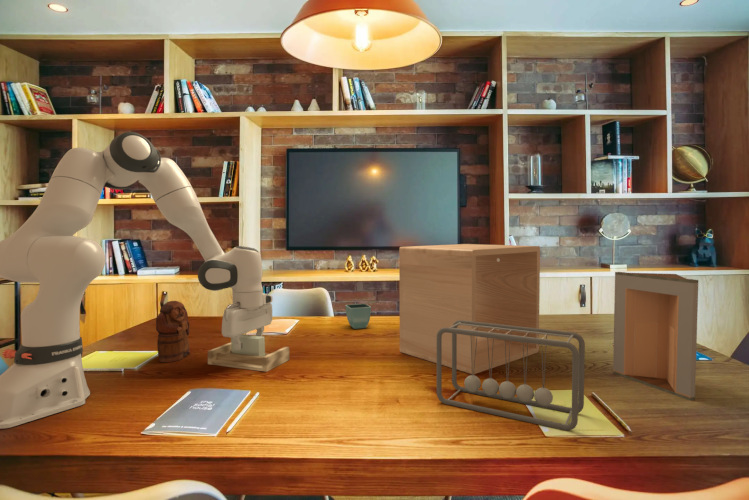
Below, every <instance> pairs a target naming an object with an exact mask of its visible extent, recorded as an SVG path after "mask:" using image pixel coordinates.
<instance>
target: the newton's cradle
mask: <svg viewBox="0 0 749 500" xmlns="http://www.w3.org/2000/svg"><path fill="white" fill-rule="evenodd" d="M458 325H466V326H474V327H476V328H477V327H483V328H492V330H493V329H500V330H509V332H510V335H508V334H507V333H506V334H499V333H494V332H493V333H491V332H490V331H489V332H483V331H478V328H477V331H475V330H466V329H458V328H457V326H458ZM474 329H475V328H474ZM511 331H518V332H526V333H528V336H529V333H535V334H539V335H544V336H543V337H542V338H541V337H539V338H533V337H524V336H525V335H524V336H516V335H511ZM445 332H446V333H452V368H451V383H452V386H453V387H454V389H456V390H457V391H455V392H454V393H453V394H452V395H451V396H450V397H449V398H445V397H444V396H443V393H442V385H443V384H442V381H443V380H442V378H443V377H442V375H443V374H442V370H443V369H442V366H443V365H442V334H443V333H445ZM457 334H462V335H470V336H478V337H486V338H487V340H488V338H493V344H494V339H501V340H509V341H510V343H511V341H517V342H525V343H527V355H528V343H533V344H539V345H541V346H545V348H544V350H545V351H544V352H545V354H544V356H543V353H544V352H543V351H541V367H542V369H541V370H542V372H541V373H542V375H541V377H542V378H543V383H542V387H539V388H537V389H536V390H535V391H534V389H533V388H532V386H530V385H528V384H527V377H526V374H527V372H528V371H527V370H528V367H527V366H528V358H525V357H524V343H523V358H522V359H523V363H525V359H526V363H525V367H523V380H524V381H523V382H524V383H523V384H520V385H519V386H518V387H516V386H515V384H514V383H513V382H511V381H509V380H506V381H502V382H501V383H500V384H499V383H498V382H497V380H495V379H494V378H492V376H493V375H492V373H493V368H492V364H491V369H490V363H489V369H488V371H489V373H488V375H489V376H490V377H488V378H486V379H484V380H483V381H482V383H481V380H480V378H479V377H478V376H477V375H475V374H474V370H472V374H469V375H468V376H467V377H466V378H465V379H464V381H463V382H464V383H463V384H464V386H460V385H459V384H458V383H457V382H458V381H457V371H458V370H457ZM548 336H555V337H562V338H568V339H567V341H565V340H557V339H547V338H548ZM572 339H576V340H577V342H578V348H577V347H576V346H575V345H574V344H573V343H570V342H571V341H572ZM585 345H586V343H585V340H584V338H583V336H582V335H581V334H579V333H577V332H572V331H564V330H555V329H545V328H539V329H538V328H529V327H520V326H510V325H501V324H492V323H483V322H474V321H465V320H458V321H456V322H455V323H454V324H453V326H451V327H449V328H441V329H440V330H439V331H438V333H437V363H436V397H437V398H438V400H439V401H440V402H441V403H442V404H445V405H448V406H452V407H457V408H462V409H465V410H470V411H475V412H479V413H480V412H481V413H485V414H489V415H493V416H498V417H504V418H508V419H512V420H516V421H519V422H520V421H521V422H525V423H530V424H535V425H539V426H544V427H547V428H548V427H549V428H553V429H556V430H557V429H558V430H563V431H572V430H574V429H575V428H576V427H577V426H578V422H579V413H580V412H582V410H584V406H585V360H586V359H585V355H586V353H585V352H586V350H585V349H586V346H585ZM476 346H477V338H476ZM547 346H549V347H558V348H565V349H568V350H570V351H571V354H572V357H571V359H572V362H571V365H572V368H571V369H572V370H571V371H572V373H571V377H572V378H571V407H568V406H563V405H559V404H553V403H552V402H553V401H554V397H553V396H554V395H553V393H552V391H551V390H550V389H549V388H546V387H545V381H546V366H544V363H546V361H547V359H546V356H547ZM475 356H476V349H475ZM505 357H506V342H505ZM488 358H489V345H488ZM492 360H493V348H492ZM509 360H510V347H509ZM543 360H544V361H543ZM471 362H472V341H471ZM507 364H508V363H505V371H506V372H505V373H506V379H509V377H510V375H509V372H510V364H508V365H507ZM507 366H508V367H507ZM474 367H475V359H474ZM480 388H482V390H481V389H480ZM459 392H462V393H467V394H472V395H479V396H482V397H488V398H493V399H498V400H501V401H502V400H504V401H507V402H512V403H518V404H522V405H527V406H533V407H538V408H542V409H547V410H553V411H559V412H563V413H568V416H567V419H566V421H565V423H560V422H556V421H551V420H547V419H543V418H537V417H532V416H527V415H523V414H518V413H512V412H510V411H509V412H508V411H504V410H501V409H500V410H499V409H495V408H490V407H486V406H480V405H476V404H472V403H467V402H462V401H457V400H453V398H454V397H455V396H456V395H457V394H458V393H459ZM498 392H499V393H498ZM533 399H534V400H533ZM570 419H571V421H570ZM569 421H570V423H569Z"/></svg>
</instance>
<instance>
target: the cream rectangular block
mask: <svg viewBox="0 0 749 500" xmlns="http://www.w3.org/2000/svg"><path fill="white" fill-rule="evenodd" d="M265 337H266V336H263V335H262V336H256V335H250V334H241V335H240V339H239V340H240V342H241V343H243V348H242V349H240V350H235V344H234V342H233V340H232V338H231V337H230V343H231V353H236V354H244V355H253V356H262V357H264V356H265V353H266V343H265V342H266V341H265V339H266V338H265Z"/></svg>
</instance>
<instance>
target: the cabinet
mask: <svg viewBox="0 0 749 500" xmlns="http://www.w3.org/2000/svg"><path fill="white" fill-rule="evenodd" d="M698 304H699V279H692V278H687V277H683V276H681V275H679V274H676V273H652V272H625V271H615V272H614V307H613V308H614V309H613V310H614V311H613V313H614V315H613V316H614V317H613V353H612V354H613V355H612V356H613V357H612V358H613V359H612V361H613V363H612V373H613V374H614V375H617V376H620V377H623V378H625V379H628V380H631V381H634V382H636V383H639V384H642V385H645V386H647V387H650V388H654V389H657V390H660V391H662V392H665V393H668V394H671V395H673V396H676V397H680V398H682V399H685V400H688V401H694V400H695V399H696V379H697V378H696V375H697V374H696V373H697V368H696V367H697V345H698V344H697V340H698V339H697V334H698V309H699V308H698Z"/></svg>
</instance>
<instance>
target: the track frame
mask: <svg viewBox="0 0 749 500" xmlns="http://www.w3.org/2000/svg"><path fill="white" fill-rule="evenodd" d="M288 361H290V346H283V347H281V348H279V349H277V350H274V351H273V352H271V353H266V352H265V356H264V357H262V356H253V355H244V354H236V353H231V342H228V343H225V344H222V345H220V346H217V347H215V348H212V349H208V350H207V365H212V366H219V367H220V366H221V367H227V368H235V369H241V370H243V369H244V370H250V371H259V372H264V373H265V372H266V373H268V372H269V371H271V370H273V369H274V368H277V367H278V366H280V365H283V364H284V363H286V362H288Z"/></svg>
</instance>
